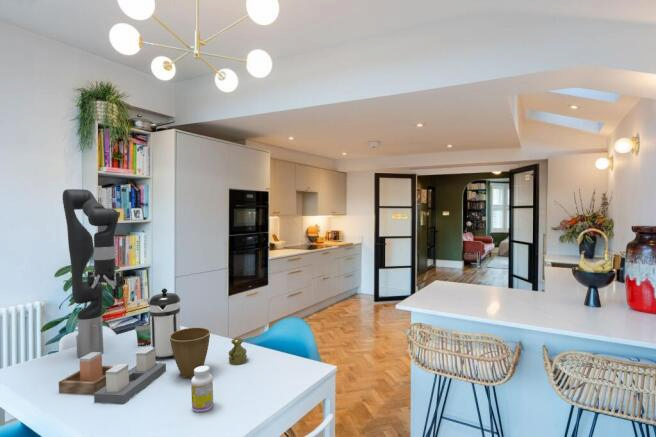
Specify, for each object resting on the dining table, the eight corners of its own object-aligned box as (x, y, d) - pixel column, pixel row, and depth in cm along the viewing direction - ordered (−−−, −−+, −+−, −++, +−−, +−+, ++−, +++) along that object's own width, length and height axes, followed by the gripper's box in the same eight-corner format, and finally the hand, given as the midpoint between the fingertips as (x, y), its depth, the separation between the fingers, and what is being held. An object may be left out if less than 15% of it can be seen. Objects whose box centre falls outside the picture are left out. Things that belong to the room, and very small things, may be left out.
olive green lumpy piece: (225, 363, 155) (224, 340, 154) (235, 356, 161) (235, 334, 161) (239, 366, 152) (239, 342, 151) (250, 359, 159) (249, 336, 158)
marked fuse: (90, 386, 135) (89, 358, 134) (80, 385, 135) (79, 358, 135) (102, 378, 141) (101, 352, 140) (93, 377, 141) (92, 352, 141)
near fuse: (117, 401, 126) (116, 372, 125) (106, 400, 126) (105, 371, 126) (129, 392, 132) (128, 364, 131) (119, 391, 132) (118, 364, 132)
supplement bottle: (195, 402, 124) (194, 364, 123) (215, 401, 124) (214, 363, 124) (189, 413, 117) (188, 373, 117) (210, 412, 118) (209, 372, 117)
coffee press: (193, 352, 167) (191, 286, 166) (161, 365, 154) (158, 293, 153) (169, 345, 176) (168, 282, 176) (137, 357, 163) (135, 289, 162)
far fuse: (146, 379, 142) (145, 353, 141) (136, 378, 142) (136, 353, 142) (155, 372, 147) (155, 347, 147) (146, 371, 148) (145, 347, 148)
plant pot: (164, 374, 145) (163, 334, 145) (199, 362, 156) (198, 325, 156) (181, 386, 135) (180, 343, 135) (218, 372, 146) (217, 332, 145)
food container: (147, 348, 173) (146, 327, 173) (135, 347, 175) (134, 326, 174) (163, 338, 185) (163, 319, 185) (153, 338, 187) (152, 318, 186)
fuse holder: (123, 403, 124) (123, 395, 124) (94, 402, 125) (93, 393, 125) (166, 370, 149) (165, 363, 149) (141, 369, 150) (140, 362, 150)
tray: (59, 393, 132) (58, 381, 132) (89, 375, 146) (88, 365, 146) (94, 394, 130) (94, 383, 130) (121, 376, 144) (121, 366, 144)
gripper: (126, 256, 153) (127, 295, 154) (95, 256, 155) (96, 294, 156) (114, 259, 145) (115, 300, 146) (81, 258, 147) (82, 299, 148)
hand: (105, 297), depth 151 cm, fingers open, 8 cm apart
